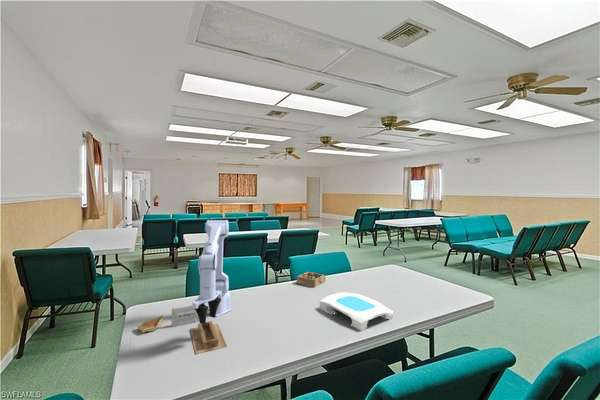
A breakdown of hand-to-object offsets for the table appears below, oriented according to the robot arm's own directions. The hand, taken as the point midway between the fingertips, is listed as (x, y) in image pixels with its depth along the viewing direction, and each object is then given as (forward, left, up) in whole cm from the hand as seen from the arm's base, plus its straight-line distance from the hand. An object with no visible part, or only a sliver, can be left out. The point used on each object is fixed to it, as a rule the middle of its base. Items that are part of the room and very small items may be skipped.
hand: (207, 319), depth 109 cm
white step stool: (-53, +39, -8) cm, 66 cm away
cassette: (-3, -18, -8) cm, 20 cm away
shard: (+6, -31, -9) cm, 33 cm away
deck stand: (-80, -2, -7) cm, 80 cm away
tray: (0, 0, -7) cm, 7 cm away
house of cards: (-83, -2, -8) cm, 84 cm away
